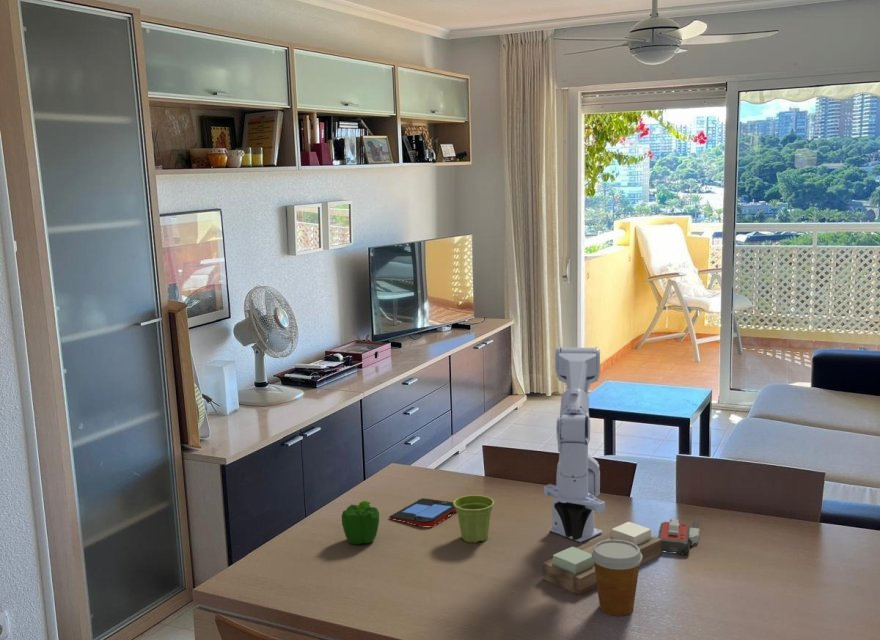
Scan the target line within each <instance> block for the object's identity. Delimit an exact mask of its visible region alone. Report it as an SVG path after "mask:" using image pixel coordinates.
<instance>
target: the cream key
mask: <svg viewBox="0 0 880 640" xmlns="http://www.w3.org/2000/svg"><path fill="white" fill-rule="evenodd" d="M611 532H612V539H614V540H624V541H628V542H631V543H634V544H635V545H639V544H641V543H643V542H646V541H648V540H650V539H651V536H652V528H649V527H646V526H643V525H639V524H637V523H633V522H631V521H627V522H625V523H622V524H620V525H618V526H615V527H613V528H611Z"/></svg>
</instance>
